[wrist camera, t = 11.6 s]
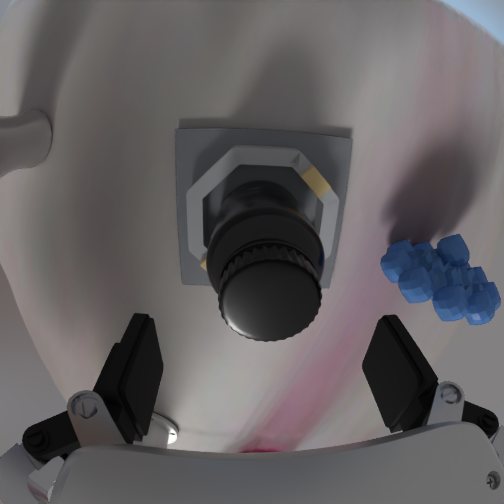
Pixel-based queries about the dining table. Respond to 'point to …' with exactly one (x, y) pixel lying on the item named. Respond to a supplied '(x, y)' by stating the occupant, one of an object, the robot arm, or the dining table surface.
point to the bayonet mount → (251, 169)
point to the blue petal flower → (442, 279)
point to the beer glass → (24, 140)
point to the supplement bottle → (265, 262)
